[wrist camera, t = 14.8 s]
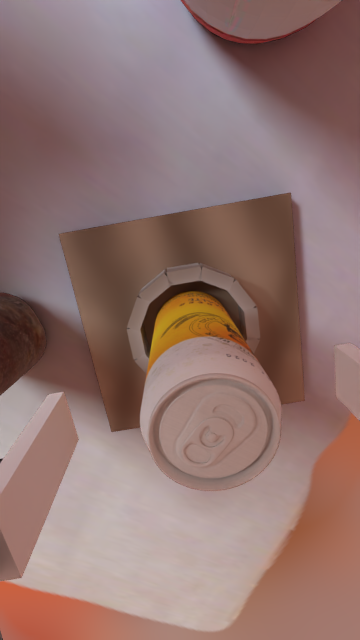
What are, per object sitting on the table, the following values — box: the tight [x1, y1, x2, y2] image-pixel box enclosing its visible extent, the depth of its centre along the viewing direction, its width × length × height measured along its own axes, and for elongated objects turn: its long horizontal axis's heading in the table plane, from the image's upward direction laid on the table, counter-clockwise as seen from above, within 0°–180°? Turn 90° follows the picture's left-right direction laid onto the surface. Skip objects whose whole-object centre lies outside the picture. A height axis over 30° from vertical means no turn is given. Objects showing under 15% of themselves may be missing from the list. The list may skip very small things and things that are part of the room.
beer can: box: [140, 291, 282, 491], centre depth 20 cm, size 6×6×15 cm
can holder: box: [59, 193, 305, 432], centre depth 26 cm, size 18×18×4 cm
